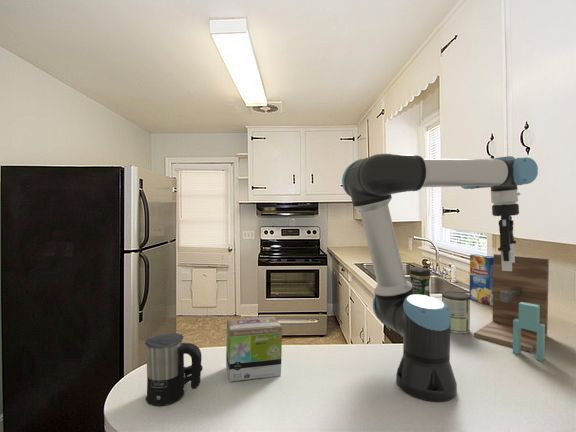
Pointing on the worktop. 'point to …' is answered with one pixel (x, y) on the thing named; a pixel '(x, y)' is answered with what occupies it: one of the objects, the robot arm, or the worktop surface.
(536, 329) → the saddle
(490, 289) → the juice carton
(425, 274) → the coffee jar
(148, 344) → the milk frother
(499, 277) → the hook stand
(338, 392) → the worktop surface
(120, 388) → the worktop surface
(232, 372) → the tea box
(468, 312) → the coffee can
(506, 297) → the hook arm
